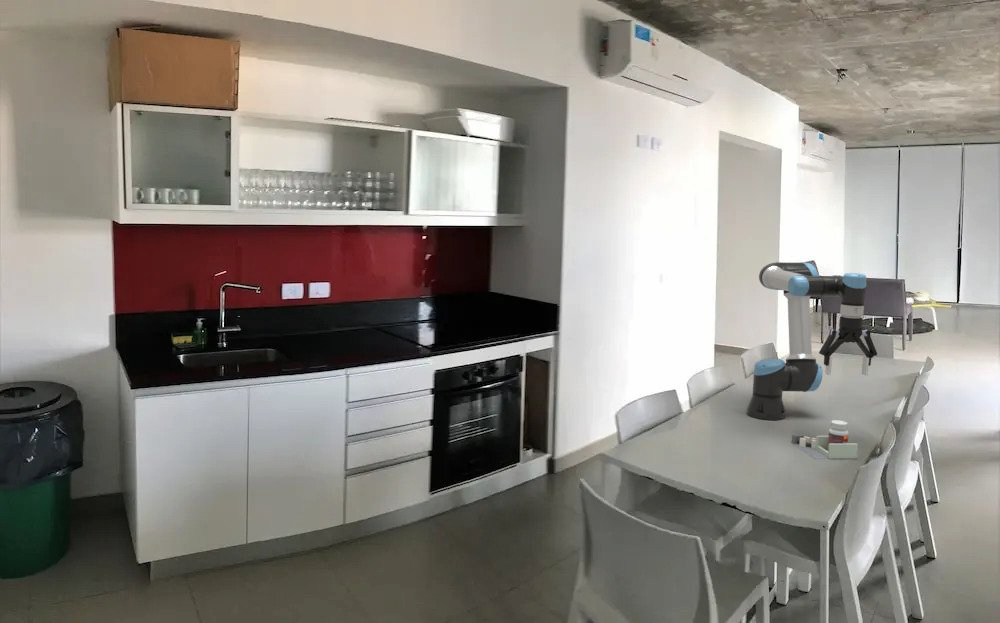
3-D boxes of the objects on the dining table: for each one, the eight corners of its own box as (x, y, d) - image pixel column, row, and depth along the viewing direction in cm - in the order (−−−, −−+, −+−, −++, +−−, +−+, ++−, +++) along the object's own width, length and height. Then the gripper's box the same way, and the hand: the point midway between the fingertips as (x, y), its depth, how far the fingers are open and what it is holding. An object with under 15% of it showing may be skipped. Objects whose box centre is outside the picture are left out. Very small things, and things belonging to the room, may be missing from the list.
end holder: (815, 449, 258) (816, 435, 257) (841, 449, 259) (843, 435, 258) (829, 458, 249) (830, 444, 248) (856, 458, 249) (857, 444, 248)
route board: (789, 444, 267) (790, 433, 266) (829, 444, 268) (830, 433, 267) (814, 462, 248) (815, 450, 248) (857, 462, 249) (858, 450, 249)
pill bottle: (845, 457, 249) (848, 425, 248) (826, 454, 252) (828, 423, 251) (847, 452, 255) (849, 421, 253) (827, 449, 258) (830, 418, 256)
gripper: (822, 317, 257) (817, 376, 260) (891, 318, 258) (885, 377, 261) (812, 314, 264) (807, 371, 267) (879, 315, 265) (874, 372, 268)
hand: (846, 374), depth 264 cm, fingers open, 13 cm apart
